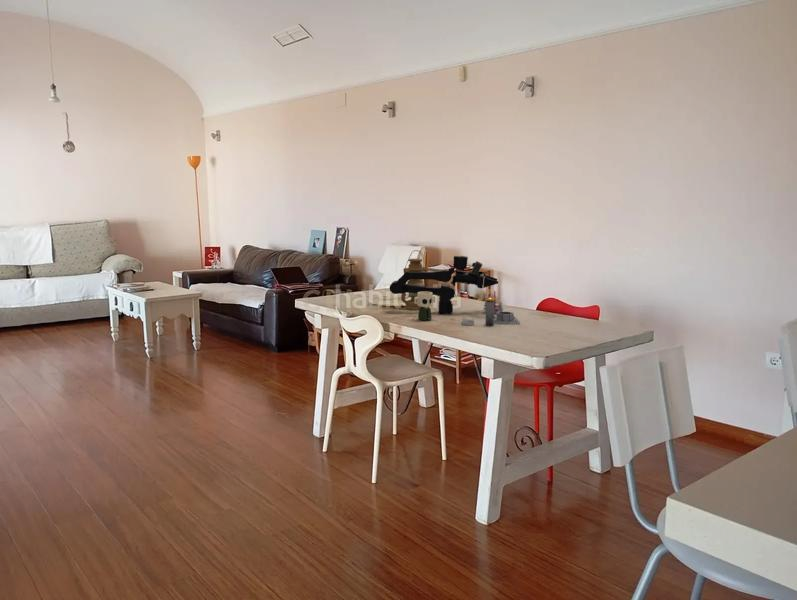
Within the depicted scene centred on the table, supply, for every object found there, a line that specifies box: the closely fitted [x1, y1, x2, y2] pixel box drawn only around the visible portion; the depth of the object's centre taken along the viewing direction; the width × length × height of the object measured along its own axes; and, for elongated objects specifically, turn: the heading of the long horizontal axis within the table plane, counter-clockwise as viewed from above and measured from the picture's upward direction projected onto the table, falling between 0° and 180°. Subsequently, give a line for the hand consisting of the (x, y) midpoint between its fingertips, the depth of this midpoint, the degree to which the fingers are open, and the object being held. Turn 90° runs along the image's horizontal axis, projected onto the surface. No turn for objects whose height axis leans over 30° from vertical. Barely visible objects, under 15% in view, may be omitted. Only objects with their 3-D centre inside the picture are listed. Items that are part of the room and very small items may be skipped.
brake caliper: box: [483, 290, 504, 315], centre depth 319 cm, size 11×11×12 cm
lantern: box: [400, 250, 429, 311], centre depth 329 cm, size 15×10×30 cm
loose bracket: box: [461, 316, 475, 326], centre depth 292 cm, size 5×8×2 cm, turn 178°
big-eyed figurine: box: [414, 292, 436, 321], centre depth 300 cm, size 11×7×13 cm, turn 114°
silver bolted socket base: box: [493, 311, 521, 325], centre depth 298 cm, size 12×12×4 cm
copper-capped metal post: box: [484, 296, 496, 327], centre depth 288 cm, size 4×4×12 cm
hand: (497, 281), depth 313 cm, fingers open, 9 cm apart
